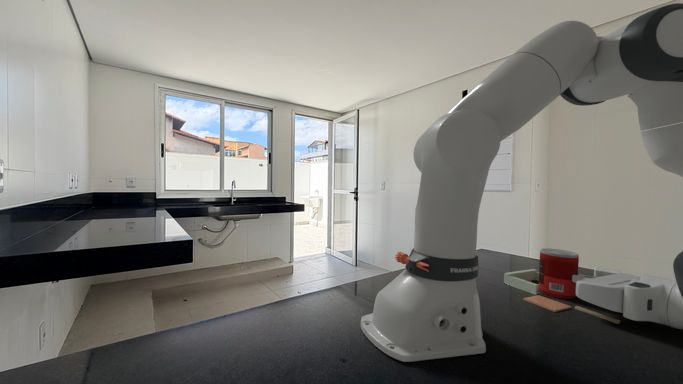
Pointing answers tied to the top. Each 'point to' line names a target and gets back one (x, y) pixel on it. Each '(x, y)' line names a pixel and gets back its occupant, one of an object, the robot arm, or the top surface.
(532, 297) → the tiles
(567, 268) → the canned food
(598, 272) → the small box
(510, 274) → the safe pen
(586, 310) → the lane kerbs
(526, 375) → the top surface
